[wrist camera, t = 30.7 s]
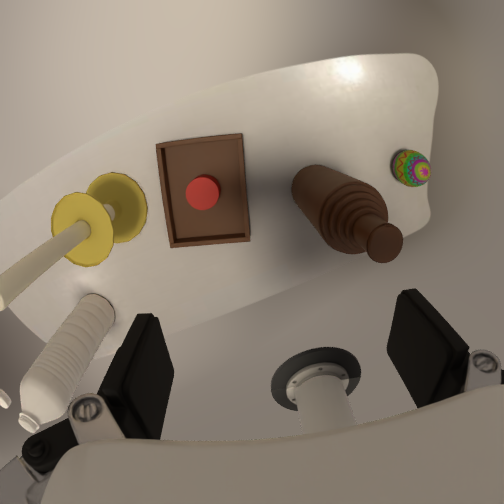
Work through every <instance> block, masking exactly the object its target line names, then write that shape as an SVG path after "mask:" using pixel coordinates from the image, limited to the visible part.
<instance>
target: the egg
mask: <svg viewBox="0 0 504 504" xmlns="http://www.w3.org/2000/svg"><path fill="white" fill-rule="evenodd" d="M393 172H394V174H395V176H396V178H397V179H398V180H399V181H400V182H401V183H402V184H404V185H406V186H410V187H418V186H421V185H423V184H425V183H426V182H427V181H428V180H429V178H430V176H431V167H430V164H429V162H428V160H427V159H426V158H425V157H424V156H423V155H422V154H421V153H419V152H417V151H413V150H406V151H402V152H400V153H399V154H398V155H397V156H396V157H395V159H394V161H393Z"/></svg>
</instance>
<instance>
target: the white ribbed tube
mask: <svg viewBox="0 0 504 504" xmlns="http://www.w3.org/2000/svg"><path fill="white" fill-rule="evenodd" d="M114 318H115V317H114V310H113V308H112V306H110V303H109V302H108V301H107V300H106V299H104V298H102V297H101V296H99V295H96V294H91V295H90V294H89V295H86V296H85V297H83V298H82V300H81V301H80V302H79V303H78V305H77V306H76V307H75V308H74V310H73V311H72V313H71V314H70V315H69V316H68V317H67V318H66V320H65V321H64V322H63V323H62V325H61V327H59V329H58V330H57V331H56V333H55V334H54V335H53V336H52V338H51V339H50V341H49V342H48V344H47V345H46V346H45V348H44V349H43V350H42V352H41V353H40V355H39V356H38V357H37V359H36V361H35V362H34V363H33V365H32V366H31V368H30V369H29V370H28V372H27V373H26V374H25V376H24V377H23V379H22V381H21V384H20V397H21V407H22V413H20V418H19V423H20V425H21V426H22V427H23V428H25V429H26V430H27V431H29V432H31V433H35V431H36V430H37V429H39V425H41V424H44V423H47V422H50V421H52V420H55V419H57V418H59V417H61V416H62V415H63V414H64V412H65V411H66V409H67V407H68V404H69V402H70V399H71V398H72V396H73V394H74V392H75V390H76V388H77V386H78V384H79V382H80V381H81V378H82V377H83V375H84V373H85V371H86V369H87V368H88V366H89V364H90V362H91V360H92V359H93V357H94V355H95V353H96V351H97V350H98V348H99V345H100V344H101V343H102V341H103V338H104V337H105V336H106V334H107V332H108V330H109V329H110V327H111V325H112V324H113V322H114ZM9 401H10V402H9ZM10 404H11V399H10V398H9V396H8V395H7V394H6V393H5V392H4V391H3V390H2V389H0V405H1V406H2V407H4V408H8V407H9V405H10Z"/></svg>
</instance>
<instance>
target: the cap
mask: <svg viewBox="0 0 504 504" xmlns="http://www.w3.org/2000/svg"><path fill="white" fill-rule="evenodd" d="M220 191H221V188H220V184H219V182H218V181H217V180H216V179H215V178H214V177H213V176H210V175H199V176H197V177H196V178H195V179H193V180H192V181H191V182H190V183H189V185H188V186H187V189H186V198H187V201H188V203H189V204H190V205H191V206H192V207H193V208H195V209H198V210H207V209H210V208H211V207H213V206H214V205H215V204H216V202H217V201H218V198H219V195H220Z"/></svg>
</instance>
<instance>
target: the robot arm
mask: <svg viewBox="0 0 504 504" xmlns="http://www.w3.org/2000/svg"><path fill="white" fill-rule="evenodd" d="M468 349H469V346H468V345H467V344H466V343H465V341H464V340H463V339H462V338H461V337H460V336H459V335H458V333H457V332H456V331H455V330H454V329H453V328H452V327H451V326H450V324H449V323H448V322H447V321H446V320H445V319H444V318H443V317H442V316H441V314H440V313H439V312H438V311H437V310H436V309H435V308H434V307H433V306H432V305H431V304H430V303H429V302H428V301H427V300H426V298H425V297H424V296H423V295H422V294H421V293H420V292H419V291H418V290H417V289H409V290H403V291H402V292H401V294H399V295H398V297H397V302H396V307H395V312H394V317H393V321H392V326H391V331H390V335H389V339H388V343H387V353H388V355H389V357H390V359H391V361H392V362H393V364H394V366H395V368H396V369H397V371H398V373H399V375H400V377H401V378H402V380H403V382H404V384H405V386H406V387H407V389H408V391H409V393H410V395H411V397H412V398H413V400H414V402H415V404H416V406H417V408H418V409H415V410H412V411H409V412H405V413H402V414H398V415H395V416H391V417H387V418H384V419H380V420H376V421H372V422H368V423H363V424H359V425H357V423H356V420H355V417H354V415H353V411H352V408H351V406H350V403H349V400H348V397H347V394H346V392H345V390H346V388H347V386H348V383H349V377H348V374H347V371H346V370H345V369H344V368H343V367H342V366H340V365H338V364H335V363H328V362H324V363H316V364H312V365H309V366H307V367H304V368H303V369H301V370H299V371H298V372H296V373H295V374H294V375H293V376H292V377H291V378H290V379H289V381H288V383H287V385H286V393H287V397H288V398H289V400H290V401H291V402H293V403H294V404H296V405H297V408H298V413H299V419H300V424H301V429H302V435H296V436H288V437H278V438H269V439H255V440H238V441H173V440H160V437H161V432H162V428H163V423H164V418H165V414H166V408H167V404H168V400H169V395H170V391H171V386H172V382H173V378H174V368H173V365H172V362H171V359H170V356H169V352H168V349H167V346H166V343H165V339H164V336H163V333H162V329H161V326H160V322H159V319H158V317H154V315H153V314H152V313H147V314H137V316H136V317H135V319H134V321H133V323H132V325H131V327H130V329H129V331H128V333H127V335H126V337H125V339H124V341H123V344H122V346H121V347H119V348H118V350H117V352H116V354H115V356H114V358H113V360H112V362H111V364H110V366H109V369H108V371H107V373H106V375H105V377H104V379H103V381H102V384H101V386H100V388H99V390H98V393H97V394H93V393H87V394H83V395H80V396H78V397H77V398H75V399H74V400H73V401H72V402H71V403H70V405H69V407H68V418H67V419H65V420H63V421H61V422H59V423H57V424H55V425H53V426H52V427H49V428H47V429H45V430H43V431H41V432H39V433H37V434H35V435H33V436H31V437H30V438H28V439H27V440H26V441H25V443H24V445H23V447H22V456H21V457H20V458H19V457H18V456H16V457H15V458H13V459H12V460H11V461H10V462H9V463H8V464H6V465H5V466H4V467H3V468H2V469H1V470H0V504H504V370H502V369H501V363H500V360H499V358H498V357H497V356H496V355H495V354H493V353H492V352H490V351H487V350H476V351H474V352H472V353H471V354H470V353H469V352H468Z"/></svg>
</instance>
